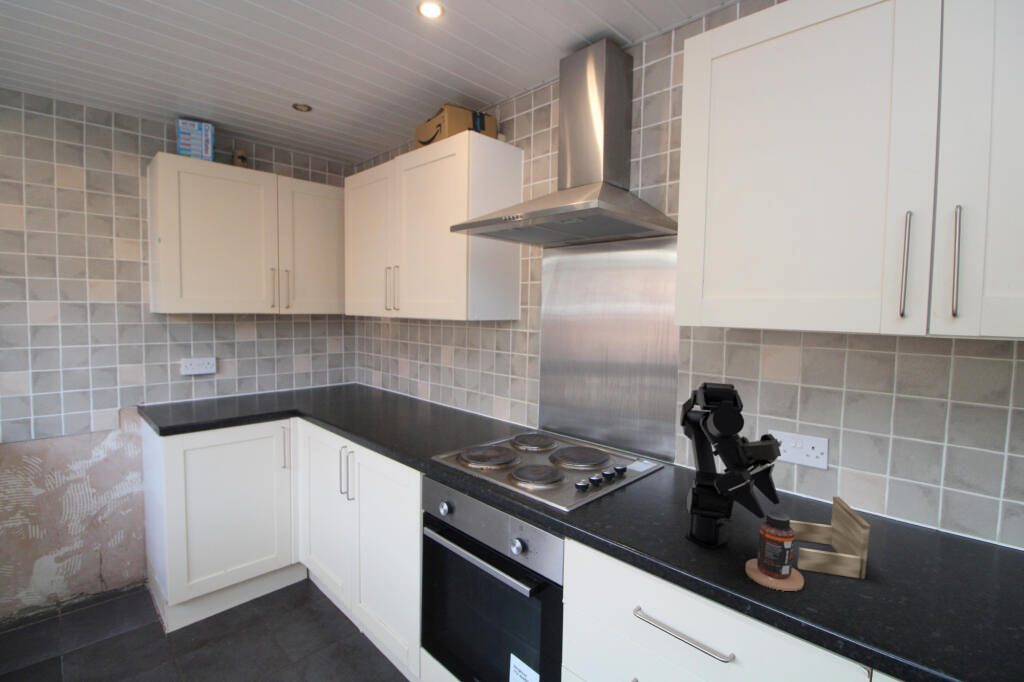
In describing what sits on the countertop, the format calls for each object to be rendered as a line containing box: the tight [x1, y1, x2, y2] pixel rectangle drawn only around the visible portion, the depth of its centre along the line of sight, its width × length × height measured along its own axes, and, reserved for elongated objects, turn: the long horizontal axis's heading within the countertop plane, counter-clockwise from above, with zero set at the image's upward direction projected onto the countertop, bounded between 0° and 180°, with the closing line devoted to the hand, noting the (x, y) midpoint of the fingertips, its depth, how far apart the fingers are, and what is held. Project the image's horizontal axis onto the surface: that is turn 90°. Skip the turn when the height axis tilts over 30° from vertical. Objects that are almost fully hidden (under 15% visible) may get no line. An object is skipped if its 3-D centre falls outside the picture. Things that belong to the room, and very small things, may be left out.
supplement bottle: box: [757, 511, 795, 578], centre depth 94 cm, size 6×6×11 cm
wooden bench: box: [790, 496, 872, 580], centre depth 104 cm, size 12×15×11 cm
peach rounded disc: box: [745, 557, 805, 592], centre depth 95 cm, size 10×10×1 cm
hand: (770, 510), depth 97 cm, fingers open, 9 cm apart
